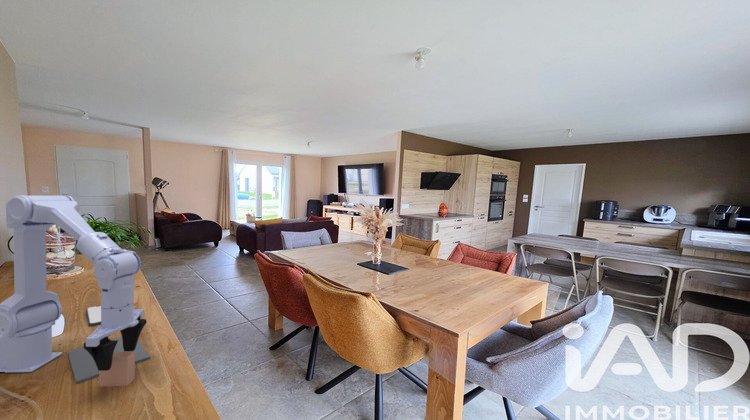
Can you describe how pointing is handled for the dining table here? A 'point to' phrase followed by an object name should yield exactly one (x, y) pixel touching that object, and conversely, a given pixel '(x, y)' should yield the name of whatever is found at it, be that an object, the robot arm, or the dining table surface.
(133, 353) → the tile
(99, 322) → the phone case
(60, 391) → the dining table surface
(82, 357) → the mat
